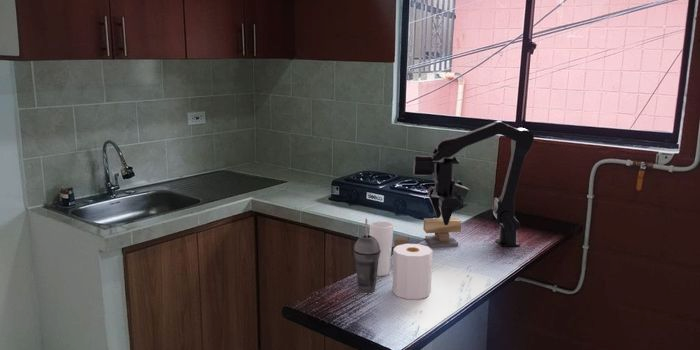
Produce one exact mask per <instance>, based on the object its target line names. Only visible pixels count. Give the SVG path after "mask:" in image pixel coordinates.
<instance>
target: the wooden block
mask: <svg viewBox="0 0 700 350" xmlns="http://www.w3.org/2000/svg"><path fill="white" fill-rule="evenodd" d="M393 242H394V244H393V245H394V246H393V249H394V248H395V247H396V246H398V245H402V244H410V237H409V236H401V235H397V236H396V237H395V239H394V241H393Z"/></svg>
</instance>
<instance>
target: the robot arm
mask: <svg viewBox="0 0 700 350" xmlns="http://www.w3.org/2000/svg"><path fill="white" fill-rule="evenodd" d="M497 135H502V136H503V137H505V138H509V139H510V141H511V142H510V151H511V154H510V158H509V164H508V168H507V172H506V176H505V178H504V182H503V183H504V184H503V187H502V190H501V191H502V192H501V194H500V195H499V197H498V198H497V197H494V199H493V205H492V207H491V210H492V213H493V216H494V217H495V218H496V220H497V221H498V222H499V224H500V225H499V232H498V233H499V236H498V237H499V238H498V239H497V238H496V239H495V242H496V243H497V244H499V245H500V246H501V247H519V246H521V244H520V243H519V242H518V241H517V236H518V231H519V229H520V227H521V223H520V222H519V220H517V218H516V216H515V210H516V209H515V208H516V206H515V196H516V193H517V188H518V184H519V180H520V176H521V172H522V168H523V164H524V161H525V158H526V157H527V155H528V153H529V152H530V151H531V149H532V146H533V143H534V141H535V136H534V134H533V133H532V132H531V131H530V130H529V129H526V128H525V127H524V128H523V127H518V128H516V127H513V126H511V125H509V124H507V123H505V122H503V121H502V120H495V121H493V122H492V123H489V124H487V125H484V126H481V127H479V128H478V127H477V128H476V129H473V130H471V131H468V132H466V133H463V134H460V135H452V136H447V137H441V138H440V139H438V141H437V143H436V145H435V148H434V150H433V151H432V152H431V153H430V154H429V155H420V154H418V155H417V154H415V155H414V160H413V170H412V171H413V176H415V177H417V176H418V177H431V176H432V175H433V174H434V173H435V177H434V178H433V182H434V183H435V184H434V185H433V186H432V185H431V186H429V187H428V189H427V195H428V198H429V200H430V203H431V205H432V207H433V211H434V213H435V216H436V218H443V222H444V225H448V223H449V220H450V218H452V215H453V213H454V211H455V210H457V209H459V208H460V207H461V200H460V199H459V198H458V197H457V196H459V197H463V198H464V199H467V197H468V195H469V192H470V189H469V188H468V187H466V186H465V185H463V182H462V181H460V180H454V165H459V164H460V160H459V159H458V158H457V156H455V154H457V153H459V152H460V151H462V150H463V149H464V148H466V147H468V146H469V147H470V145H474V144H476V143H479V142H482V141H484V140H486V139H487V140H488V139H489V138H493V137H495V136H497Z"/></svg>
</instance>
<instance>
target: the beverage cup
mask: <svg viewBox="0 0 700 350" xmlns="http://www.w3.org/2000/svg"><path fill="white" fill-rule="evenodd" d="M364 221H365V235H362V236H360V237H358V239H357V240H356V242H355V243H354V248H353V252H354V253H353V254H354V258H355V267H356V268H355V269H356V270H355V271H356V279H357V280H356V281H357V290H358V293H360V292H361V293H360V294H362V293H367V294H366V295H370V294H369V293H372V294H374V293H375V292H376V285H377V277H378V276H377V269H378V260H379V256H380V252H381V250H380V245H379V243H378V241H377V240H376V239H375V238H374V237H373V236H370V235H369V234H368V218H365V220H364ZM373 292H374V293H373Z"/></svg>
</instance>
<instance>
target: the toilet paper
mask: <svg viewBox="0 0 700 350" xmlns="http://www.w3.org/2000/svg"><path fill="white" fill-rule="evenodd" d="M392 249H393V250H392V252H393V253H392V280H391V281H392V287H391V288H392V289H391V291H392V293H394V295H395V296H396V297H400V298H403V299H406V300H420V299H424V298H428V297H429V296H430V294H431V291H432V290H431V289H432V272H433V271H432V269H433V268H432V267H433V265H432V264H433V249H432V248H431V247H429V246H427V245H423V244H419V243H409V244H402V245H398V246H396V247H395V248H394V247H393V248H392Z"/></svg>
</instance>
